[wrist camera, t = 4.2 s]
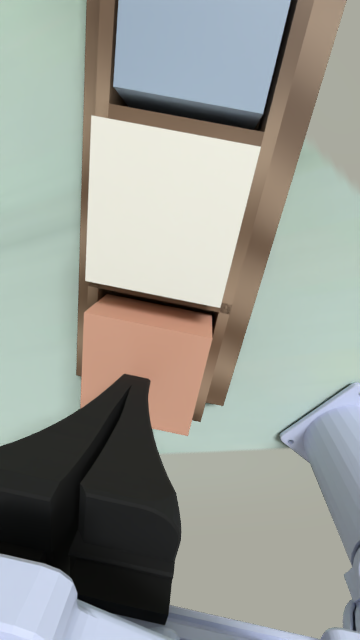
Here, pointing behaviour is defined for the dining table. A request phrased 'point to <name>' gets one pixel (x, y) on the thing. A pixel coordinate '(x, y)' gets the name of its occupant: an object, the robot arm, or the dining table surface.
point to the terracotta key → (147, 355)
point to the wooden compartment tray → (270, 134)
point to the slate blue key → (199, 57)
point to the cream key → (165, 209)
